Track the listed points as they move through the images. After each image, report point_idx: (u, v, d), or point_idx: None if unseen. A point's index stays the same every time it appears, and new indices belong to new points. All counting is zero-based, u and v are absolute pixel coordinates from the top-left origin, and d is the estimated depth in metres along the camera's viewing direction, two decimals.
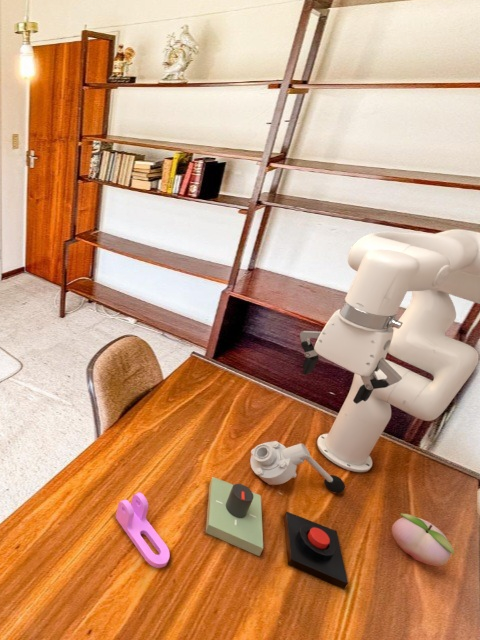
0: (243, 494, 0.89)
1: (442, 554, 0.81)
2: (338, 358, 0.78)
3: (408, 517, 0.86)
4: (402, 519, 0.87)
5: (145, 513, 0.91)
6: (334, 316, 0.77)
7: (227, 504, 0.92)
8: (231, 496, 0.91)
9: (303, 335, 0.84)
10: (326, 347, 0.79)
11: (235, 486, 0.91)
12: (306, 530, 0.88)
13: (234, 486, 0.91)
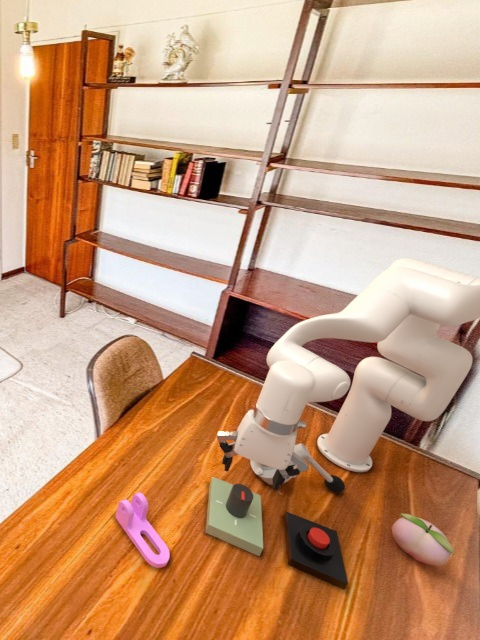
0: (243, 494, 0.89)
1: (442, 554, 0.81)
2: (258, 457, 0.83)
3: (408, 517, 0.86)
4: (402, 519, 0.87)
5: (145, 513, 0.91)
6: (251, 424, 0.81)
7: (227, 504, 0.92)
8: (231, 496, 0.91)
9: (220, 437, 0.87)
10: (247, 450, 0.83)
11: (235, 486, 0.91)
12: (306, 530, 0.88)
13: (234, 486, 0.91)
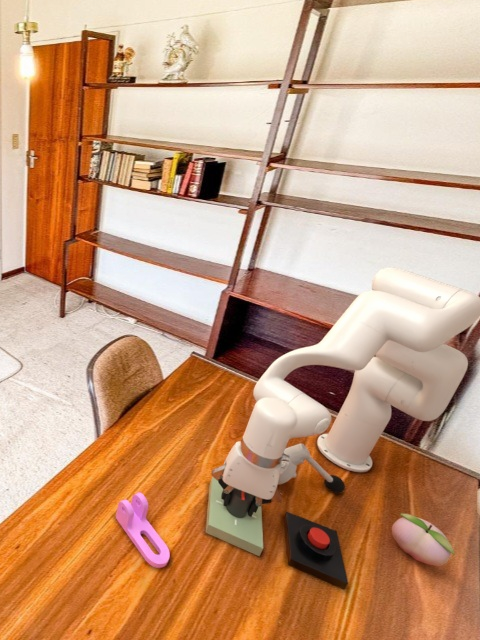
0: (243, 494, 0.89)
1: (442, 554, 0.81)
2: (245, 487, 0.87)
3: (408, 517, 0.86)
4: (402, 519, 0.87)
5: (145, 513, 0.91)
6: (238, 456, 0.85)
7: None
8: (231, 495, 0.91)
9: (214, 475, 0.91)
10: (234, 480, 0.87)
11: None
12: (306, 530, 0.88)
13: None
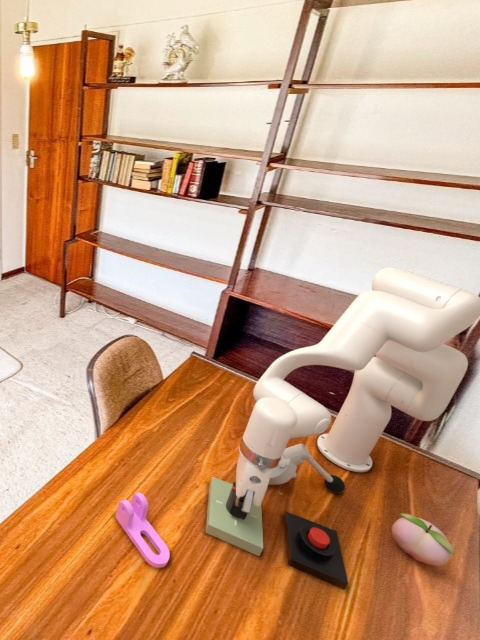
0: None
1: (442, 554, 0.81)
2: (237, 476, 0.90)
3: (408, 517, 0.86)
4: (402, 519, 0.87)
5: (145, 513, 0.91)
6: None
7: None
8: None
9: None
10: (237, 464, 0.91)
11: None
12: (306, 530, 0.88)
13: None
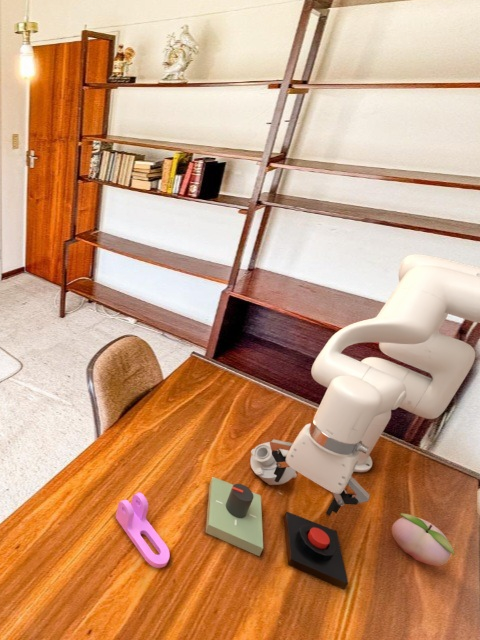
0: (239, 490, 0.90)
1: (442, 554, 0.81)
2: (310, 474, 0.79)
3: (408, 517, 0.86)
4: (402, 519, 0.87)
5: (145, 513, 0.91)
6: (304, 435, 0.78)
7: None
8: None
9: (273, 445, 0.85)
10: (298, 462, 0.80)
11: (246, 488, 0.91)
12: (306, 530, 0.88)
13: (246, 487, 0.91)
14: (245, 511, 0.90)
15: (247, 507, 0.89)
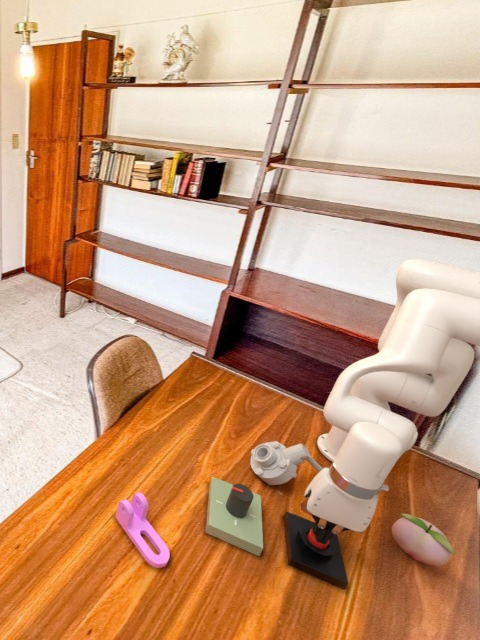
0: (239, 490, 0.90)
1: (442, 554, 0.81)
2: (334, 518, 0.80)
3: (408, 517, 0.86)
4: (402, 519, 0.87)
5: (145, 513, 0.91)
6: (328, 485, 0.78)
7: None
8: None
9: (305, 509, 0.84)
10: (322, 510, 0.80)
11: (246, 488, 0.91)
12: (306, 530, 0.88)
13: (246, 487, 0.91)
14: (245, 511, 0.90)
15: (247, 507, 0.89)
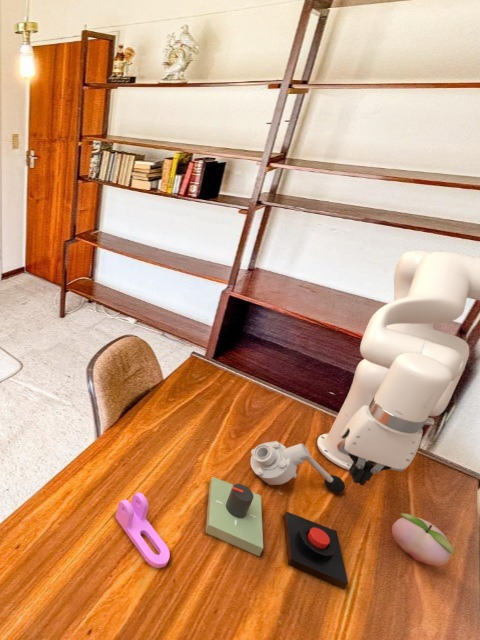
0: (239, 490, 0.90)
1: (442, 554, 0.81)
2: (374, 456, 0.77)
3: (408, 517, 0.86)
4: (402, 519, 0.87)
5: (145, 513, 0.91)
6: (369, 421, 0.75)
7: None
8: None
9: (342, 450, 0.81)
10: (361, 448, 0.77)
11: (246, 488, 0.91)
12: (306, 530, 0.88)
13: (246, 487, 0.91)
14: (245, 511, 0.90)
15: (247, 507, 0.89)
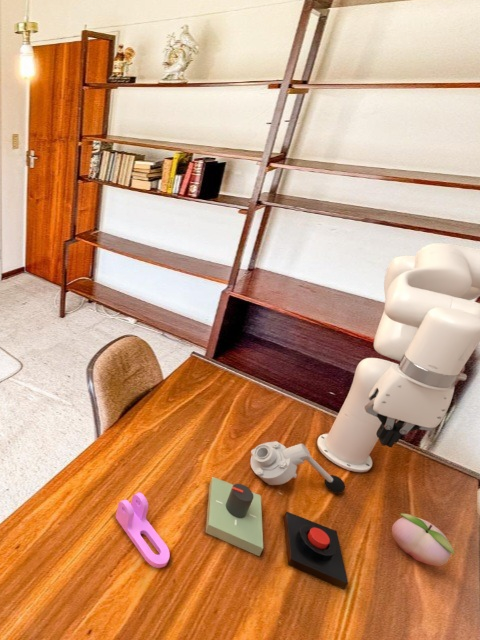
0: (239, 490, 0.90)
1: (442, 554, 0.81)
2: (403, 415, 0.76)
3: (408, 517, 0.86)
4: (402, 519, 0.87)
5: (145, 513, 0.91)
6: (400, 378, 0.74)
7: None
8: None
9: (370, 411, 0.80)
10: (391, 407, 0.77)
11: (246, 488, 0.91)
12: (306, 530, 0.88)
13: (246, 487, 0.91)
14: (245, 511, 0.90)
15: (247, 507, 0.89)
